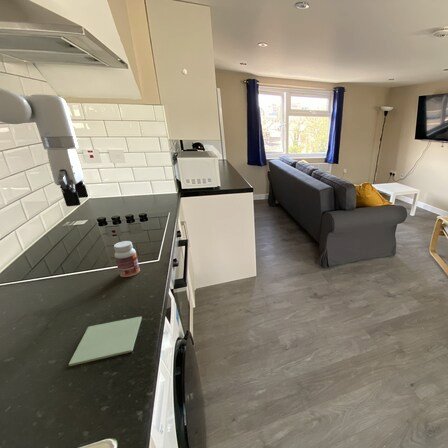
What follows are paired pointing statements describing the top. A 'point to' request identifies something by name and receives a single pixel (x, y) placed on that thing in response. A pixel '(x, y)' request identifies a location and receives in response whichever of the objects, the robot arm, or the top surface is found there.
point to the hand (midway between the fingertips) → (78, 201)
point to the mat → (106, 341)
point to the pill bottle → (126, 259)
